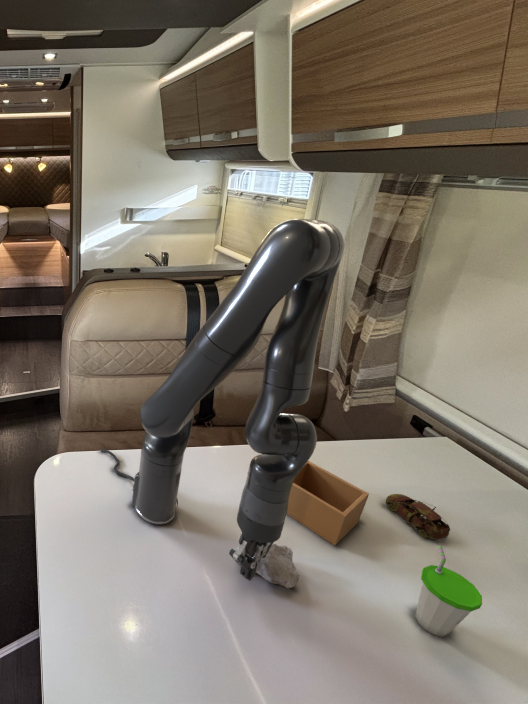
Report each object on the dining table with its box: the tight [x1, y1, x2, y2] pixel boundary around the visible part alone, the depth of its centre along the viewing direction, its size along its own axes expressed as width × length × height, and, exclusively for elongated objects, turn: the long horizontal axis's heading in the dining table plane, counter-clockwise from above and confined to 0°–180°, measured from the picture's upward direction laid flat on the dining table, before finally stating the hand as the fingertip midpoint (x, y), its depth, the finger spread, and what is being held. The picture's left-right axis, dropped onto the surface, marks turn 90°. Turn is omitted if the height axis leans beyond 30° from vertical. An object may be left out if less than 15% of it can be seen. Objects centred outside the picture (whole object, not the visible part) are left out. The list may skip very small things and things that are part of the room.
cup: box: [414, 545, 483, 638], centre depth 75 cm, size 8×8×15 cm
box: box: [286, 460, 370, 546], centre depth 100 cm, size 12×14×9 cm
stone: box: [255, 543, 301, 589], centre depth 86 cm, size 8×10×6 cm
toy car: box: [384, 493, 451, 540], centre depth 99 cm, size 12×7×5 cm, turn 10°
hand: (246, 575), depth 85 cm, fingers closed
